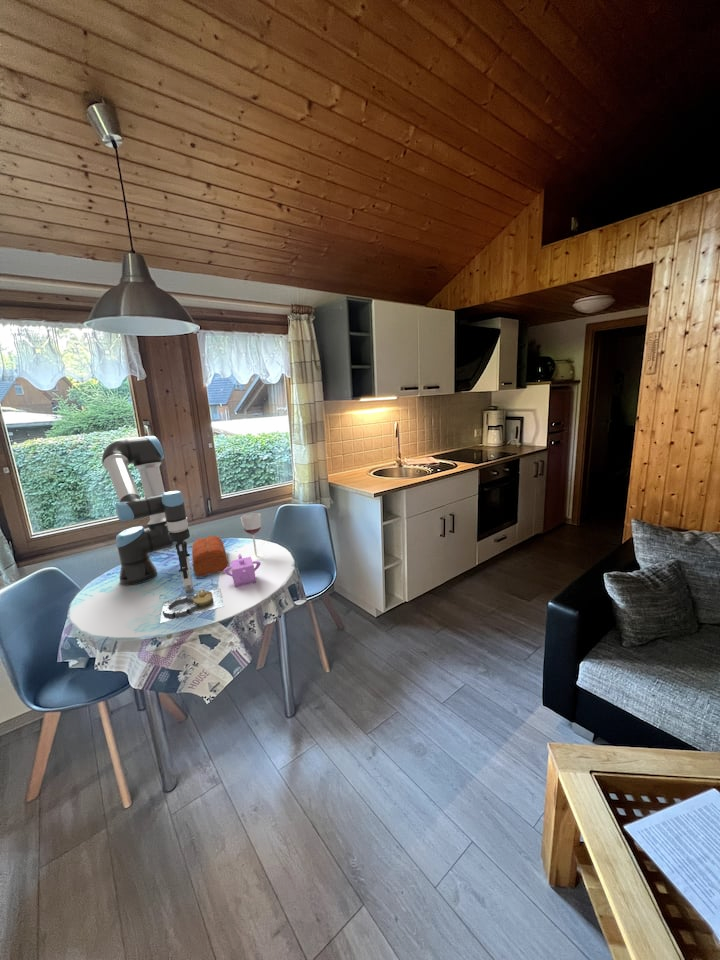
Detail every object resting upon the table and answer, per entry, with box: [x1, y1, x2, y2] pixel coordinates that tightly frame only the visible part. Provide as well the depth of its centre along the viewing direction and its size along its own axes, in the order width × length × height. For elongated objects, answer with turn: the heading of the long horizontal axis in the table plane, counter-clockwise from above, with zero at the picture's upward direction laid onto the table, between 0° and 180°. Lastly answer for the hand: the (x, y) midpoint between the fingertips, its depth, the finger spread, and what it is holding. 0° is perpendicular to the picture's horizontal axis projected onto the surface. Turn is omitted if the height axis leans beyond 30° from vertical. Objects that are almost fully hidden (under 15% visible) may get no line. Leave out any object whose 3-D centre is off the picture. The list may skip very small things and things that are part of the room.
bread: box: [191, 535, 229, 577], centre depth 190 cm, size 16×27×11 cm, turn 24°
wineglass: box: [240, 512, 266, 562], centre depth 192 cm, size 9×10×22 cm
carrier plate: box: [159, 588, 225, 624], centre depth 150 cm, size 16×22×3 cm
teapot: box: [223, 553, 261, 588], centre depth 167 cm, size 15×13×11 cm
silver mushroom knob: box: [183, 574, 194, 594], centre depth 160 cm, size 7×7×8 cm
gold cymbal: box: [193, 589, 213, 606], centre depth 151 cm, size 7×7×4 cm
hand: (187, 578), depth 159 cm, fingers open, 13 cm apart
